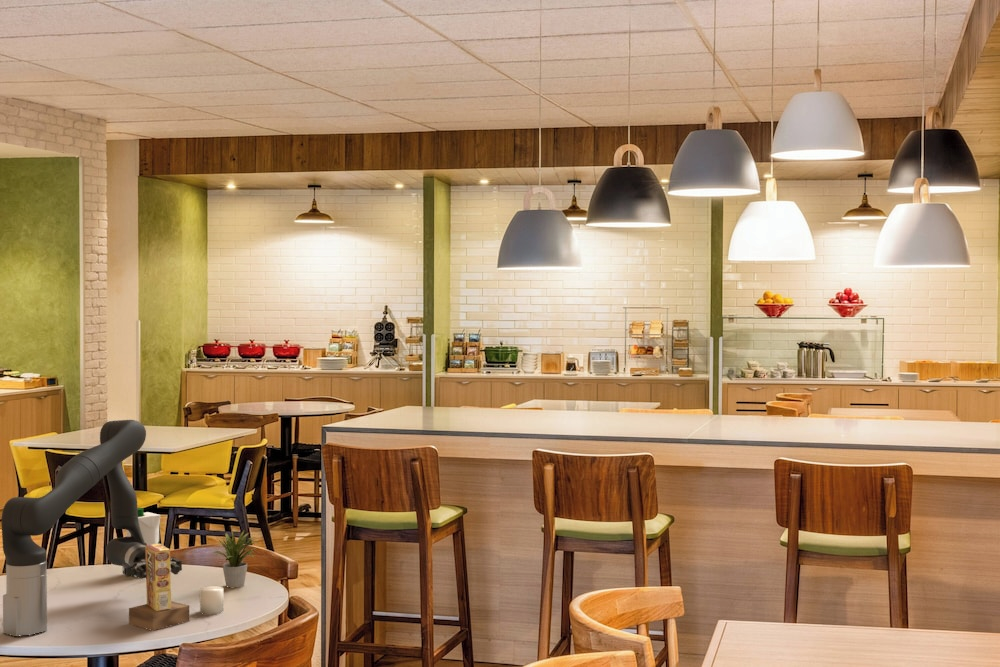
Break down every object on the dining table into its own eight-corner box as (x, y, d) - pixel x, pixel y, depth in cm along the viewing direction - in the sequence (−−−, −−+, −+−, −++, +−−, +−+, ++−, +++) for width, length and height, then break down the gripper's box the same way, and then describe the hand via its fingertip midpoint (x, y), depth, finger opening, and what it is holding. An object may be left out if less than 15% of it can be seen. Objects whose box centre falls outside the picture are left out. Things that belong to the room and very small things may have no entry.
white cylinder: (210, 615, 295) (210, 592, 295) (195, 612, 299) (195, 589, 298) (228, 611, 300) (228, 588, 300) (213, 607, 303) (213, 585, 303)
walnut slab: (153, 630, 281) (152, 614, 281) (128, 623, 287) (128, 608, 287) (189, 621, 290) (189, 605, 290) (165, 614, 296) (165, 599, 296)
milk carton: (122, 574, 342) (121, 508, 341) (149, 569, 348) (149, 504, 348) (137, 578, 336) (136, 511, 335) (164, 573, 342) (164, 507, 342)
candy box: (172, 609, 286) (171, 549, 286) (155, 611, 284) (154, 551, 283) (161, 601, 293) (161, 543, 293) (145, 604, 291) (144, 545, 291)
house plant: (254, 593, 319) (253, 535, 319) (205, 592, 319) (205, 535, 319) (265, 581, 333) (265, 525, 333) (218, 580, 333) (218, 525, 333)
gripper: (114, 549, 297) (131, 561, 284) (169, 543, 305) (187, 554, 291) (115, 578, 297) (131, 590, 284) (169, 571, 305) (187, 583, 291)
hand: (160, 572), depth 287 cm, fingers open, 8 cm apart
